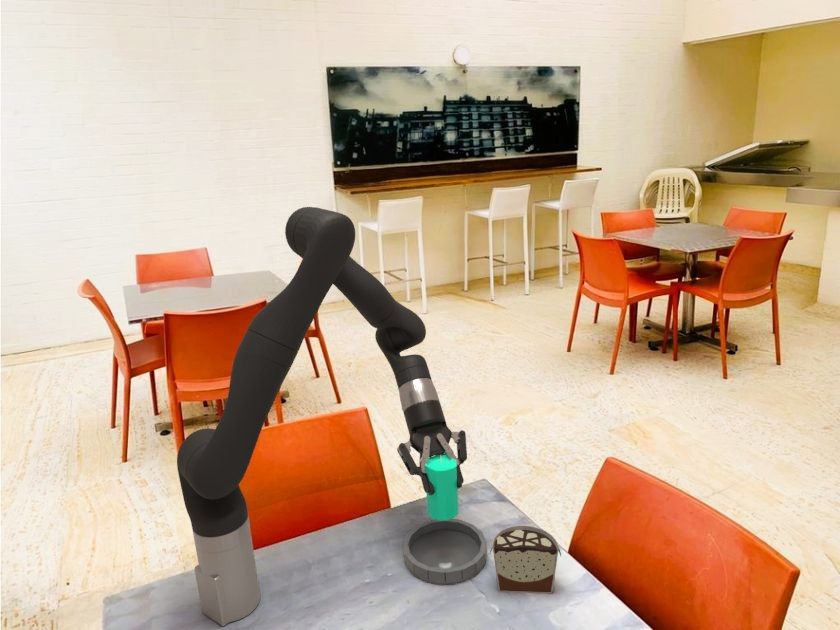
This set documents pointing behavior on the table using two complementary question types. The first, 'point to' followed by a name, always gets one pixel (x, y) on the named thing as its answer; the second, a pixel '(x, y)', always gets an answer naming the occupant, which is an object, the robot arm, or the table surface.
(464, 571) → the plate
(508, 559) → the food container
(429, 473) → the candle
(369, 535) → the table surface
